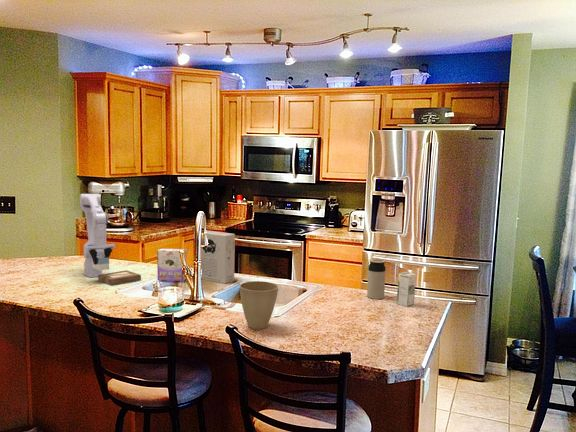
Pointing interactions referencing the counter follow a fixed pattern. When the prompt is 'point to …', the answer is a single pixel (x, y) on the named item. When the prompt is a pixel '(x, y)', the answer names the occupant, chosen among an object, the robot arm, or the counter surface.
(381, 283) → the travel mug
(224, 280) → the cereal box
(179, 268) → the candy box
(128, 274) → the stand
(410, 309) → the counter surface
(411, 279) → the syrup box
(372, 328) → the counter surface
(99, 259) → the block
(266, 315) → the plant pot
